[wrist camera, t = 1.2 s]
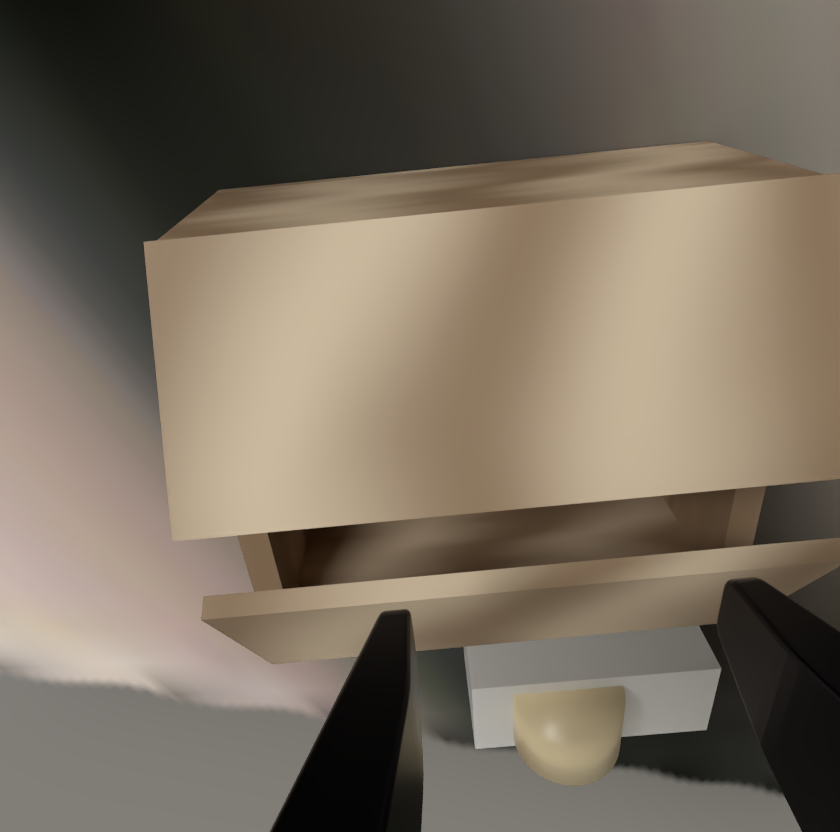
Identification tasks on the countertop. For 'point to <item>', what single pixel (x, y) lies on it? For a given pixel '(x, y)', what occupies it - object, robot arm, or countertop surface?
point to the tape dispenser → (588, 696)
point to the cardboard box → (509, 529)
